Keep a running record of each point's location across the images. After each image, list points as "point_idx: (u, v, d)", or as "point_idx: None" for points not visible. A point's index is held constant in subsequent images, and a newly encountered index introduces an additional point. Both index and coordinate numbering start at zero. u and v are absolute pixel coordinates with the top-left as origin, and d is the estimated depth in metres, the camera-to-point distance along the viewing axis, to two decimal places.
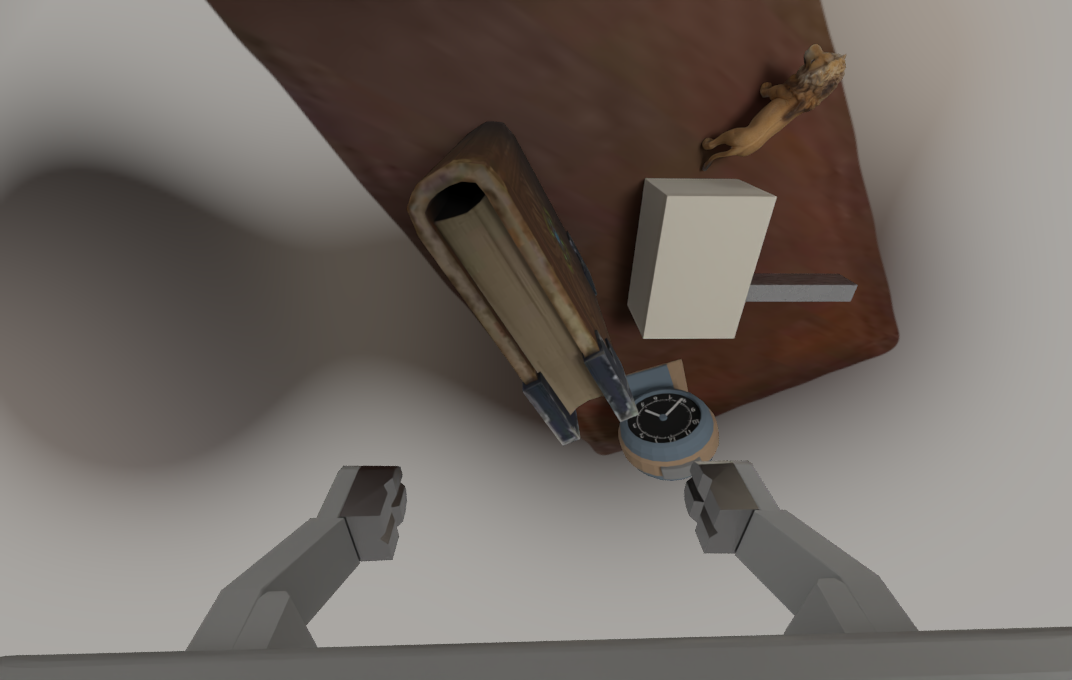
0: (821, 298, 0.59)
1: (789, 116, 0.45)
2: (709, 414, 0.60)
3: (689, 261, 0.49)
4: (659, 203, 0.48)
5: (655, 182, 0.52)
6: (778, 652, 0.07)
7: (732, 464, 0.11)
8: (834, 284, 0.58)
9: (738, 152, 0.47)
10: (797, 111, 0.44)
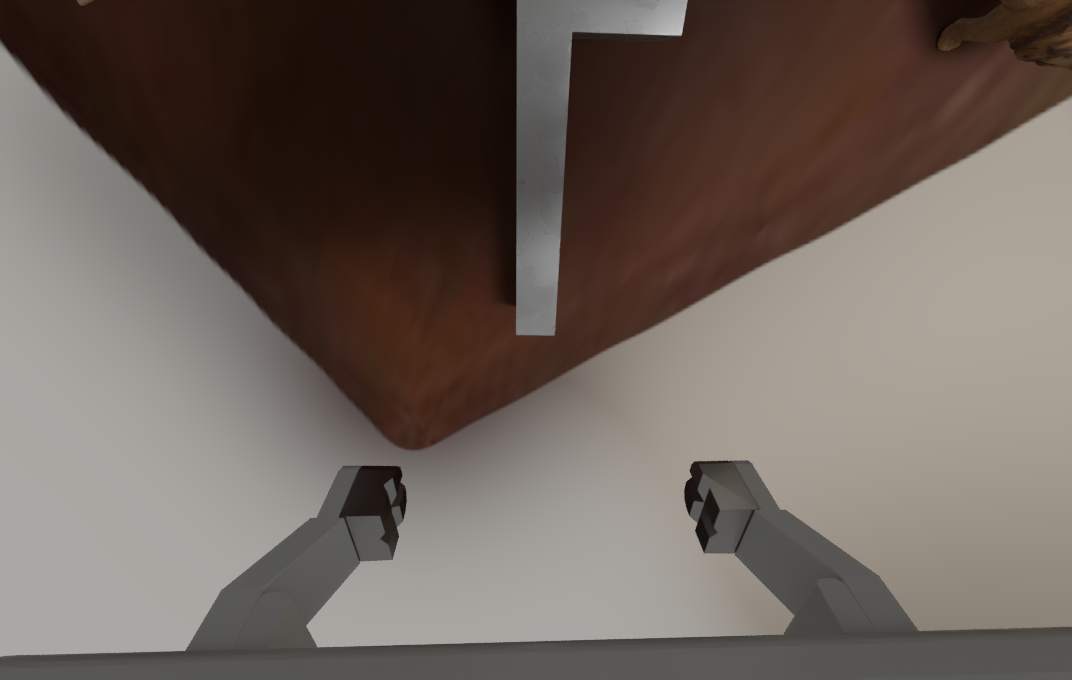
0: (523, 272, 0.25)
1: None
2: None
3: None
4: None
5: None
6: (777, 652, 0.07)
7: (732, 464, 0.11)
8: (556, 290, 0.26)
9: None
10: None
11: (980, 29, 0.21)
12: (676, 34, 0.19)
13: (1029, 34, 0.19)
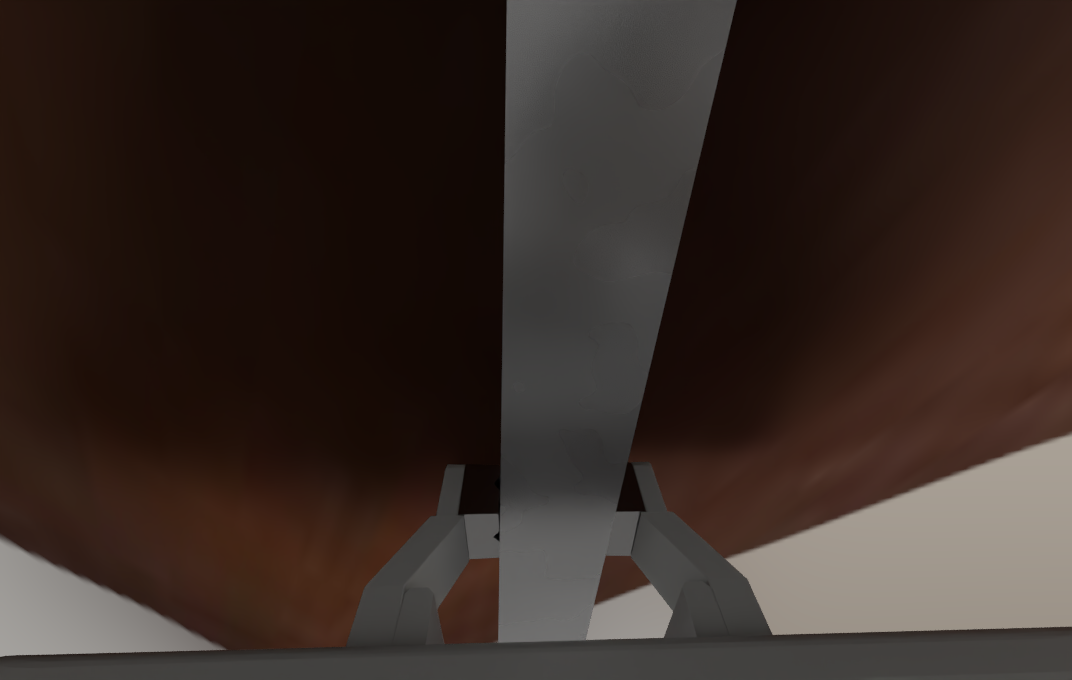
0: (518, 559, 0.10)
1: None
2: None
3: None
4: None
5: None
6: (778, 652, 0.07)
7: (630, 465, 0.11)
8: (597, 580, 0.11)
9: None
10: None
11: None
12: None
13: None
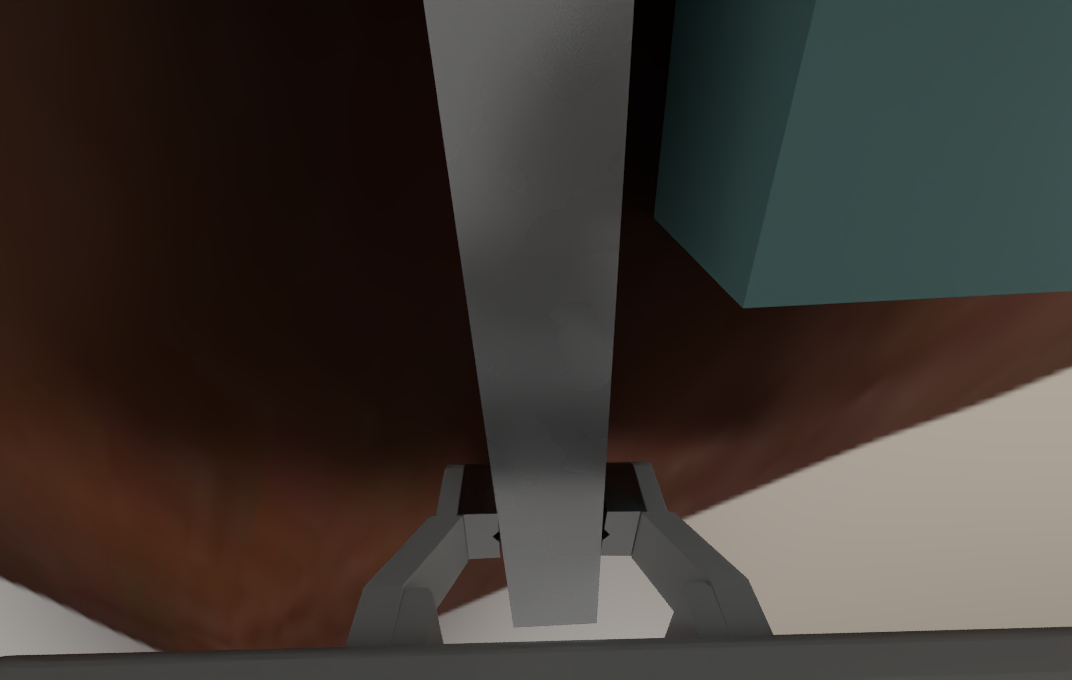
0: (519, 539, 0.10)
1: None
2: None
3: None
4: None
5: None
6: (778, 653, 0.07)
7: (631, 465, 0.11)
8: (599, 557, 0.11)
9: None
10: None
11: None
12: None
13: None
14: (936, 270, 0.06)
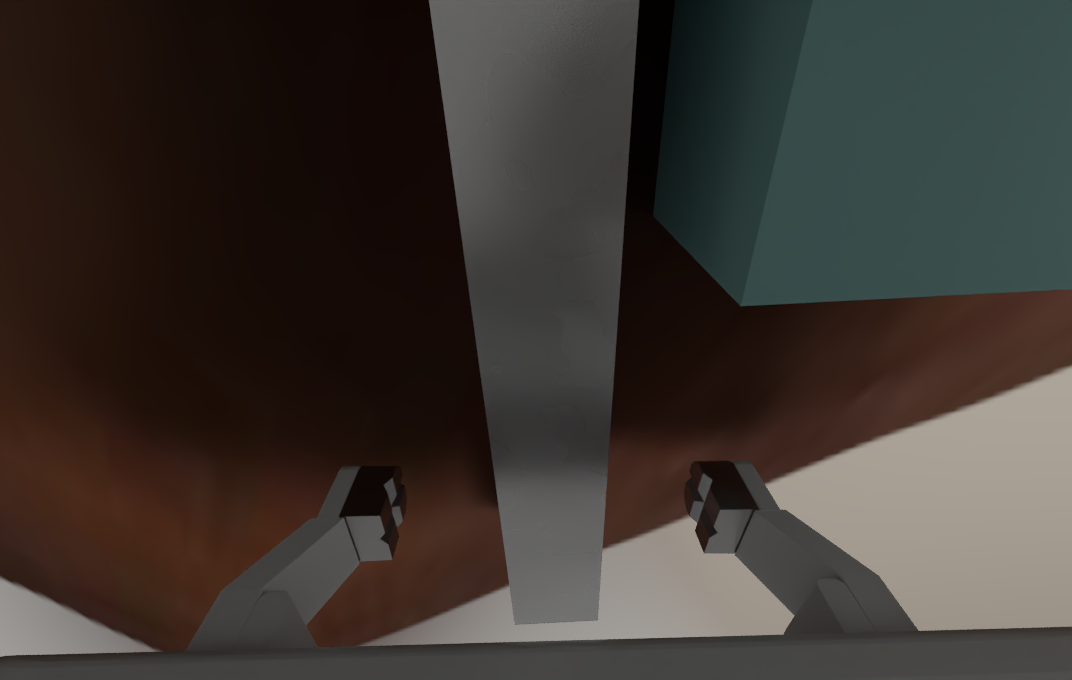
0: (521, 536, 0.10)
1: None
2: None
3: None
4: None
5: None
6: (778, 652, 0.07)
7: (731, 464, 0.11)
8: (600, 554, 0.11)
9: None
10: None
11: None
12: None
13: None
14: (934, 267, 0.06)
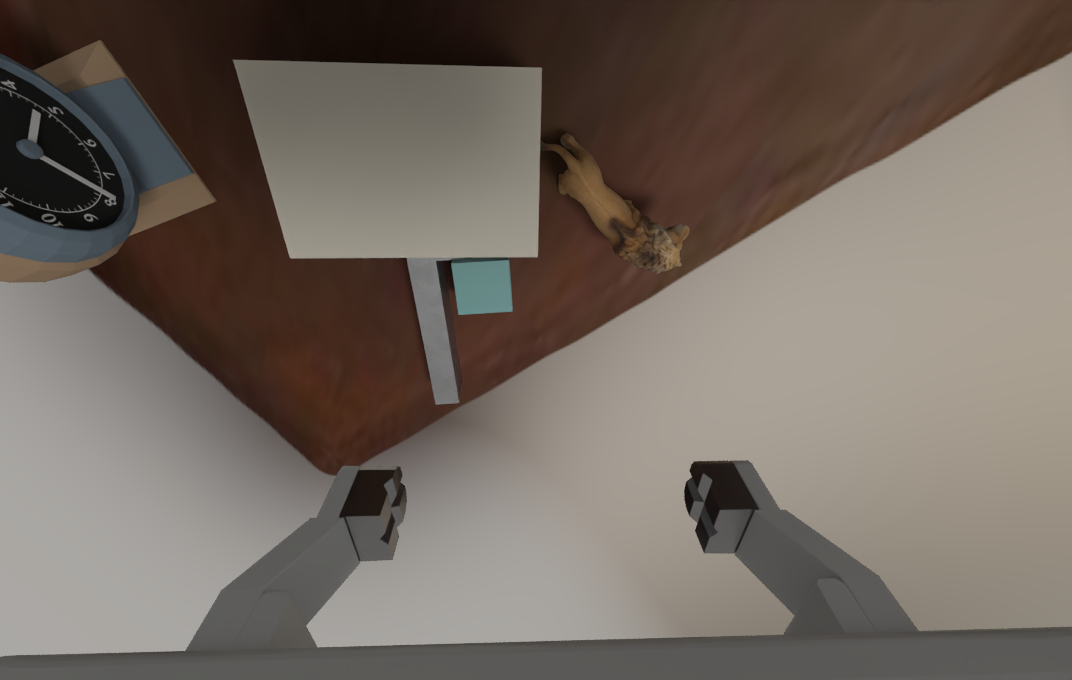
0: (433, 371, 0.43)
1: (614, 226, 0.34)
2: (90, 250, 0.28)
3: (425, 137, 0.27)
4: None
5: None
6: (778, 652, 0.07)
7: (731, 464, 0.11)
8: (455, 378, 0.44)
9: (572, 168, 0.32)
10: (622, 232, 0.34)
11: None
12: (489, 257, 0.37)
13: (613, 249, 0.37)
14: (487, 308, 0.39)
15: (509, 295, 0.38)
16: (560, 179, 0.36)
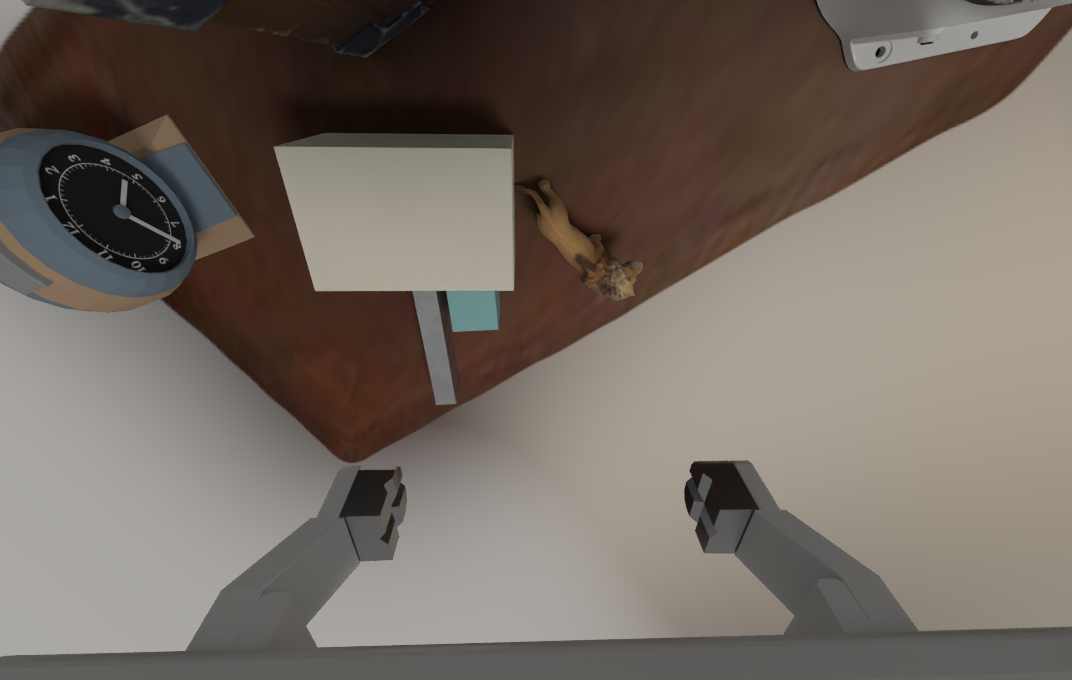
0: (434, 376, 0.51)
1: (579, 261, 0.41)
2: (164, 286, 0.36)
3: (421, 200, 0.34)
4: (495, 144, 0.34)
5: None
6: (778, 652, 0.07)
7: (732, 464, 0.11)
8: (452, 382, 0.51)
9: (543, 214, 0.39)
10: (585, 266, 0.41)
11: None
12: None
13: None
14: (476, 326, 0.46)
15: (495, 316, 0.46)
16: (537, 218, 0.43)
